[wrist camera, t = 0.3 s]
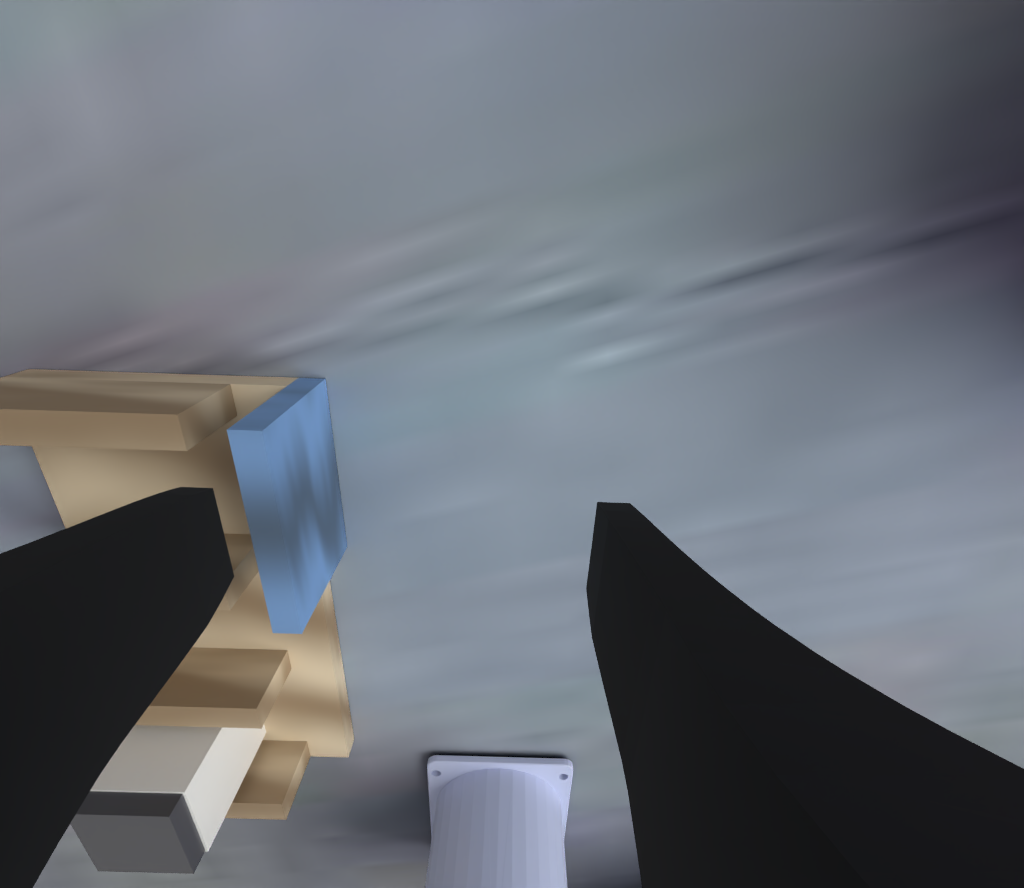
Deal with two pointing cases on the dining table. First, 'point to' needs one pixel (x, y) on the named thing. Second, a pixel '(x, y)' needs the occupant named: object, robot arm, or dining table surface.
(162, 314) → the dining table surface
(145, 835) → the grey rectangular block
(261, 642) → the cable comb
